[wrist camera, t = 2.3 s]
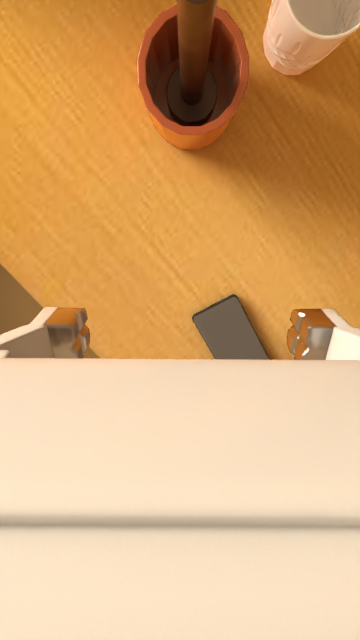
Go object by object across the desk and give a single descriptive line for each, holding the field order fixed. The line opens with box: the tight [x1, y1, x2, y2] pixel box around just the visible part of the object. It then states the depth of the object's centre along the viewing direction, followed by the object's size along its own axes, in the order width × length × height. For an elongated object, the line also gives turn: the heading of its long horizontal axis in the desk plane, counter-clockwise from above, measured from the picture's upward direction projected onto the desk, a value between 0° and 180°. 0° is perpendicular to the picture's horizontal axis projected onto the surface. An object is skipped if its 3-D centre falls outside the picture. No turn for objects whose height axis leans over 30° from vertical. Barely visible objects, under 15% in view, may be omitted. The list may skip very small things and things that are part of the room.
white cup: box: [263, 0, 360, 75], centre depth 28 cm, size 8×8×10 cm
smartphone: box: [192, 295, 270, 360], centre depth 45 cm, size 7×1×15 cm
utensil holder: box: [137, 4, 249, 150], centre depth 31 cm, size 9×9×9 cm
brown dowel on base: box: [166, 0, 218, 126], centre depth 25 cm, size 5×5×21 cm
